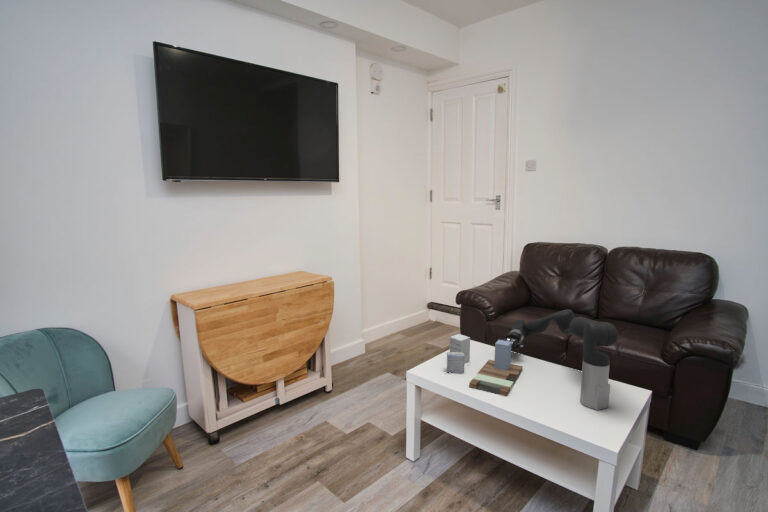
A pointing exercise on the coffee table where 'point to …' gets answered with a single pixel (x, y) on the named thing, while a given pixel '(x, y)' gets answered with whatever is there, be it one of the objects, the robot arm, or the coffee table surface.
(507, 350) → the block
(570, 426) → the coffee table surface
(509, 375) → the deck
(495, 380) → the pad
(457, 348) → the supplement box
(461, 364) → the medicine box
